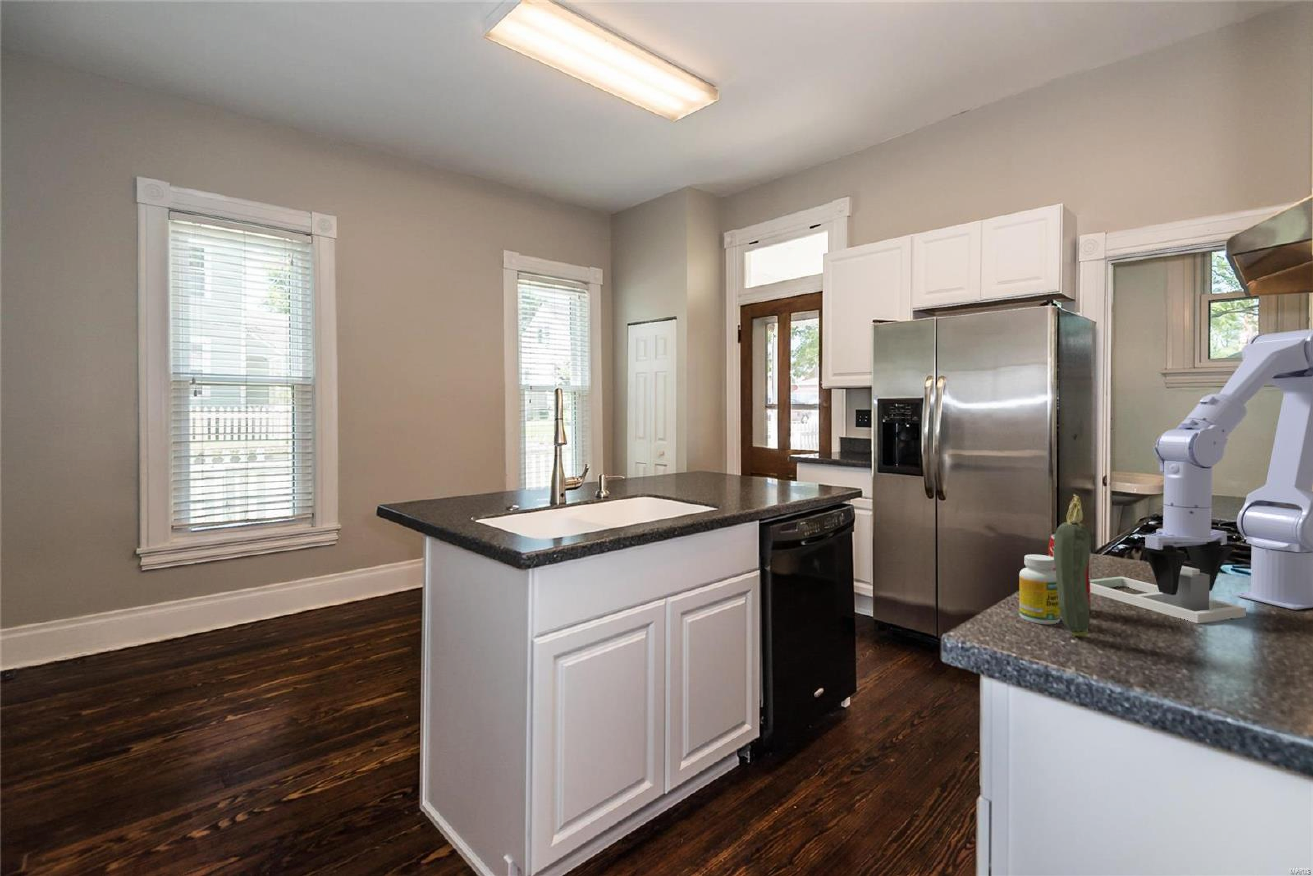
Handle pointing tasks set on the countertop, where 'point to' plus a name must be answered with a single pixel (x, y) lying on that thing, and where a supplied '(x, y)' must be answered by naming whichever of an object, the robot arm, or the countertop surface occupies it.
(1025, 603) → the supplement bottle
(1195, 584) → the plug
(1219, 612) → the frame
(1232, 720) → the countertop surface
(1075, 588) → the vegetable
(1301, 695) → the countertop surface
